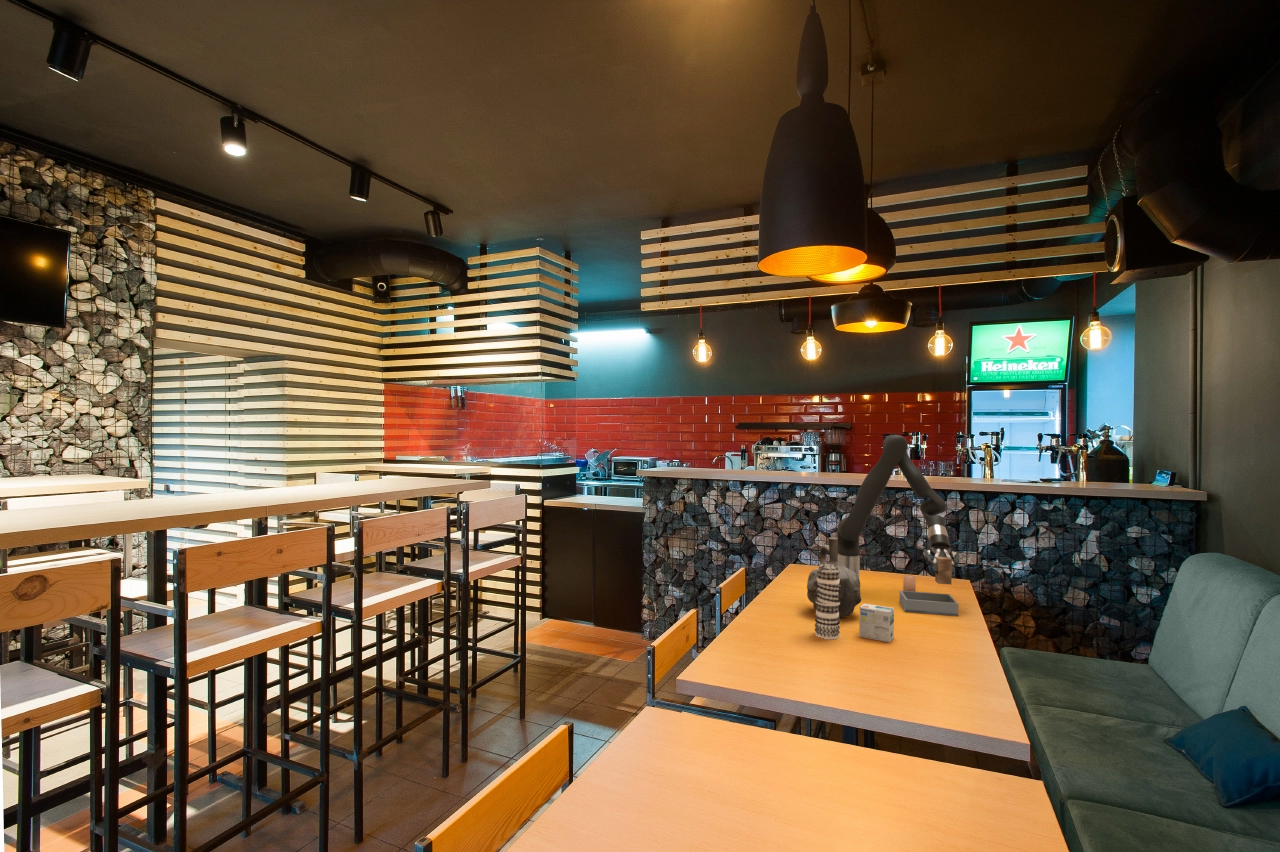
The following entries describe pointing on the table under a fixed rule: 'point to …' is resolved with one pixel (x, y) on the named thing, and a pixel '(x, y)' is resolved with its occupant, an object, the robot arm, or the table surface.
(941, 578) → the walnut block
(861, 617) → the light bulb box
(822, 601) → the black white tall cylinder
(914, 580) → the terracotta cylinder
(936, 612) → the tote
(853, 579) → the vessel
